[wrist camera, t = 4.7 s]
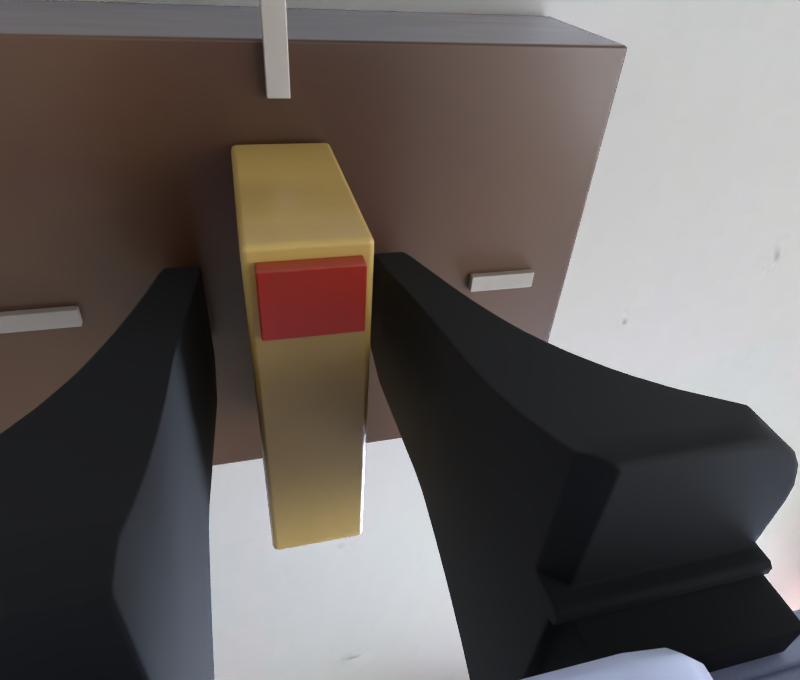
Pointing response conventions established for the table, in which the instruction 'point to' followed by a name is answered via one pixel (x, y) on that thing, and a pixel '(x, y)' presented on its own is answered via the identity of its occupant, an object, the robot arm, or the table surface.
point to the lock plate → (278, 124)
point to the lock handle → (306, 334)
